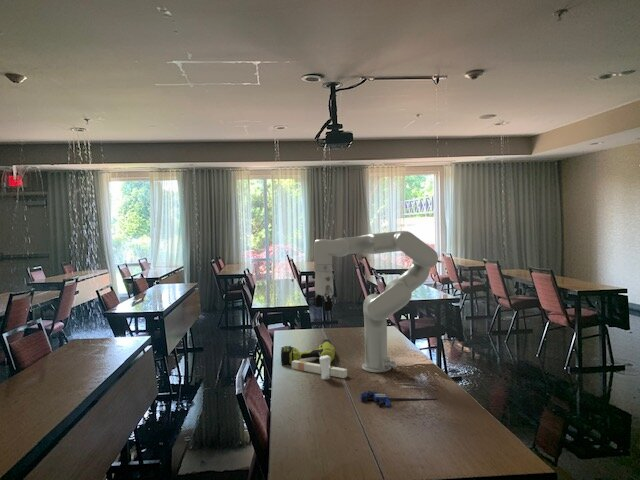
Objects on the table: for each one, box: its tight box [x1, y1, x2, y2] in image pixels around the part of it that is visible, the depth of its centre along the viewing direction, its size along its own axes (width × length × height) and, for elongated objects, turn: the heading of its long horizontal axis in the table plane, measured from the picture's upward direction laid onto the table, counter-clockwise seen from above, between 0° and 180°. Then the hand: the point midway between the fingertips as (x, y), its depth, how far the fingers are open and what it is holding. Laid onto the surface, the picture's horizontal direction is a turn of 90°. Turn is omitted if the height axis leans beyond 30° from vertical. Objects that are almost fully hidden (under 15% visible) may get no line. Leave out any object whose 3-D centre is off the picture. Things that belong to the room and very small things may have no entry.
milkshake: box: [318, 353, 332, 381], centre depth 177 cm, size 5×5×10 cm
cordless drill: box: [280, 338, 336, 367], centre depth 207 cm, size 7×25×25 cm
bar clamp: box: [359, 390, 437, 408], centre depth 152 cm, size 32×2×10 cm
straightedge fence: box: [291, 360, 348, 379], centre depth 185 cm, size 26×3×3 cm, turn 58°
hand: (323, 308), depth 187 cm, fingers open, 9 cm apart
